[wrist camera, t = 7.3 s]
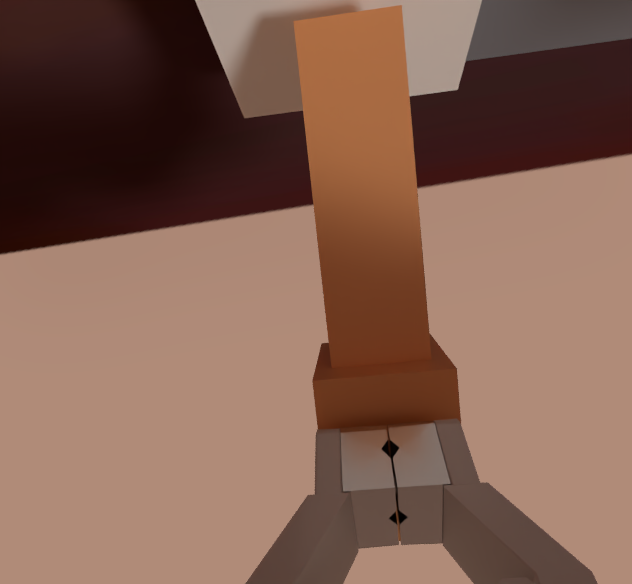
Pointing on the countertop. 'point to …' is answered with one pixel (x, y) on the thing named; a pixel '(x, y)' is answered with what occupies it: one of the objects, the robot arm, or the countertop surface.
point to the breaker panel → (546, 25)
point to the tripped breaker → (368, 227)
